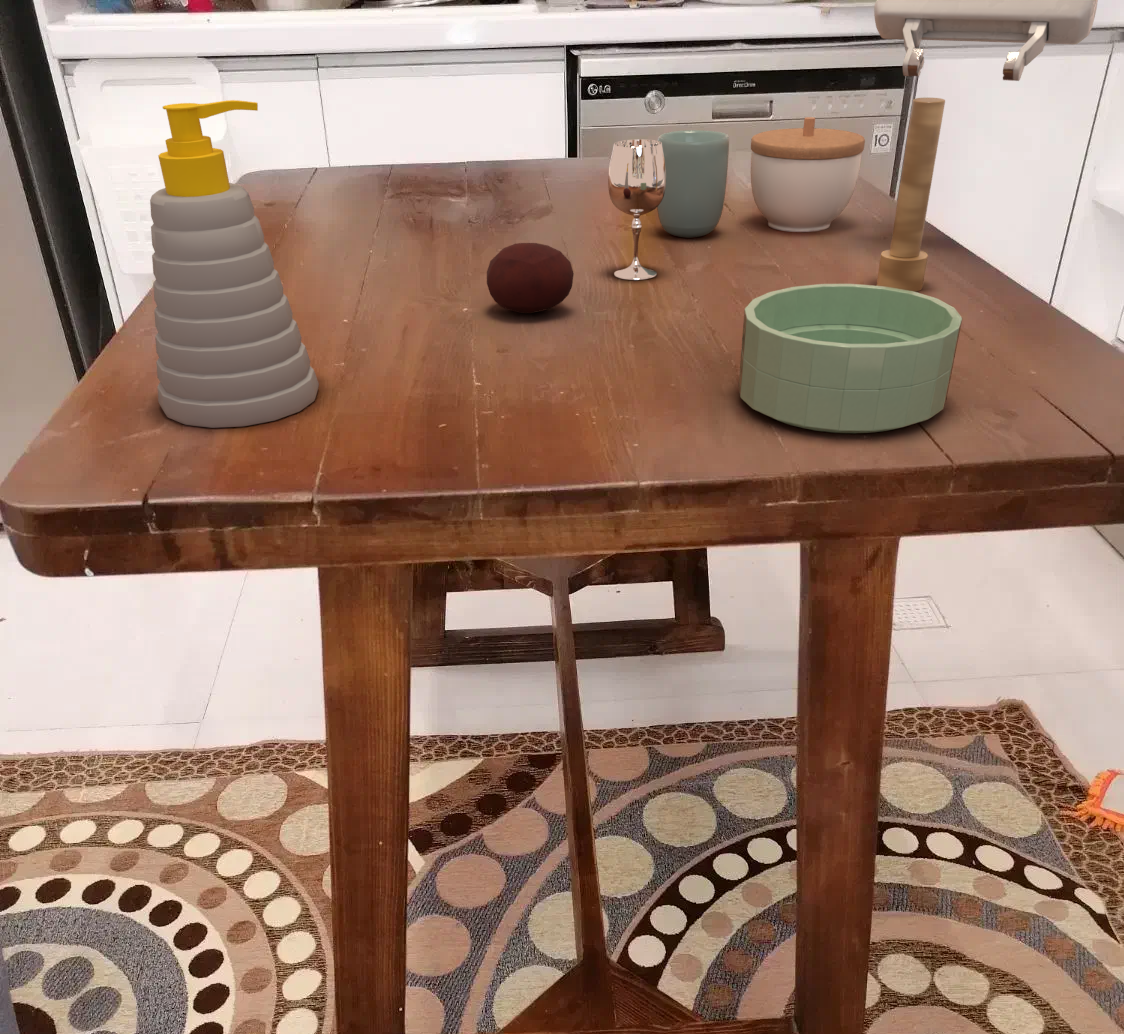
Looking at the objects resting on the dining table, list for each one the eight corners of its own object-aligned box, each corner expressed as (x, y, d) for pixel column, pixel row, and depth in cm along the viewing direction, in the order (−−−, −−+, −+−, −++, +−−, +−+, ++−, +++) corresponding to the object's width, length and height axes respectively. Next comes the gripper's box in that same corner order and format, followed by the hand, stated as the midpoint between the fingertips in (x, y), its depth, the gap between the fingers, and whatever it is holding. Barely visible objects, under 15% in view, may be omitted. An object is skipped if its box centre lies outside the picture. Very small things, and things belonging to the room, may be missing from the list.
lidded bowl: (803, 208, 136) (814, 105, 129) (876, 227, 127) (892, 118, 120) (723, 222, 131) (729, 116, 124) (793, 243, 122) (805, 131, 115)
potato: (539, 329, 100) (537, 259, 96) (470, 314, 104) (465, 246, 100) (586, 309, 104) (586, 241, 101) (518, 295, 108) (515, 230, 105)
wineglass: (612, 266, 116) (613, 138, 109) (666, 267, 115) (671, 138, 108) (603, 280, 112) (603, 148, 104) (659, 282, 111) (663, 149, 103)
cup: (642, 237, 126) (644, 138, 120) (676, 223, 131) (680, 128, 125) (702, 245, 122) (707, 144, 116) (734, 230, 127) (741, 133, 121)
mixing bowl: (921, 366, 90) (936, 283, 86) (964, 439, 78) (984, 346, 74) (732, 366, 91) (738, 284, 87) (745, 438, 79) (753, 346, 75)
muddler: (917, 280, 110) (948, 95, 100) (926, 293, 106) (959, 102, 96) (873, 280, 110) (899, 96, 100) (880, 293, 106) (908, 103, 97)
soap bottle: (327, 417, 84) (279, 110, 71) (157, 437, 81) (77, 123, 69) (313, 365, 93) (268, 87, 81) (161, 381, 91) (91, 97, 78)
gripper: (896, -85, 106) (849, 45, 106) (1122, -89, 98) (1072, 52, 97) (901, -31, 112) (857, 92, 111) (1116, -31, 104) (1069, 103, 103)
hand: (959, 74), depth 104 cm, fingers open, 8 cm apart
